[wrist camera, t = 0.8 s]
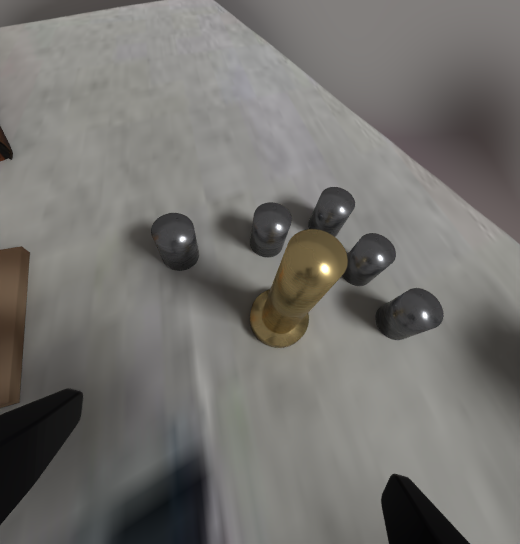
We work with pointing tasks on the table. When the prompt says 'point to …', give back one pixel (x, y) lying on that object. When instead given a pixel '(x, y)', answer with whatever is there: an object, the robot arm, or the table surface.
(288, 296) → the brass pin
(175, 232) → the cylinder
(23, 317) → the board
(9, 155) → the sunglasses case
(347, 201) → the cylinder
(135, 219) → the table surface
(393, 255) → the dark grey domed cylinder
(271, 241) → the dark gray domed cylinder
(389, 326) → the dark grey domed cylinder
